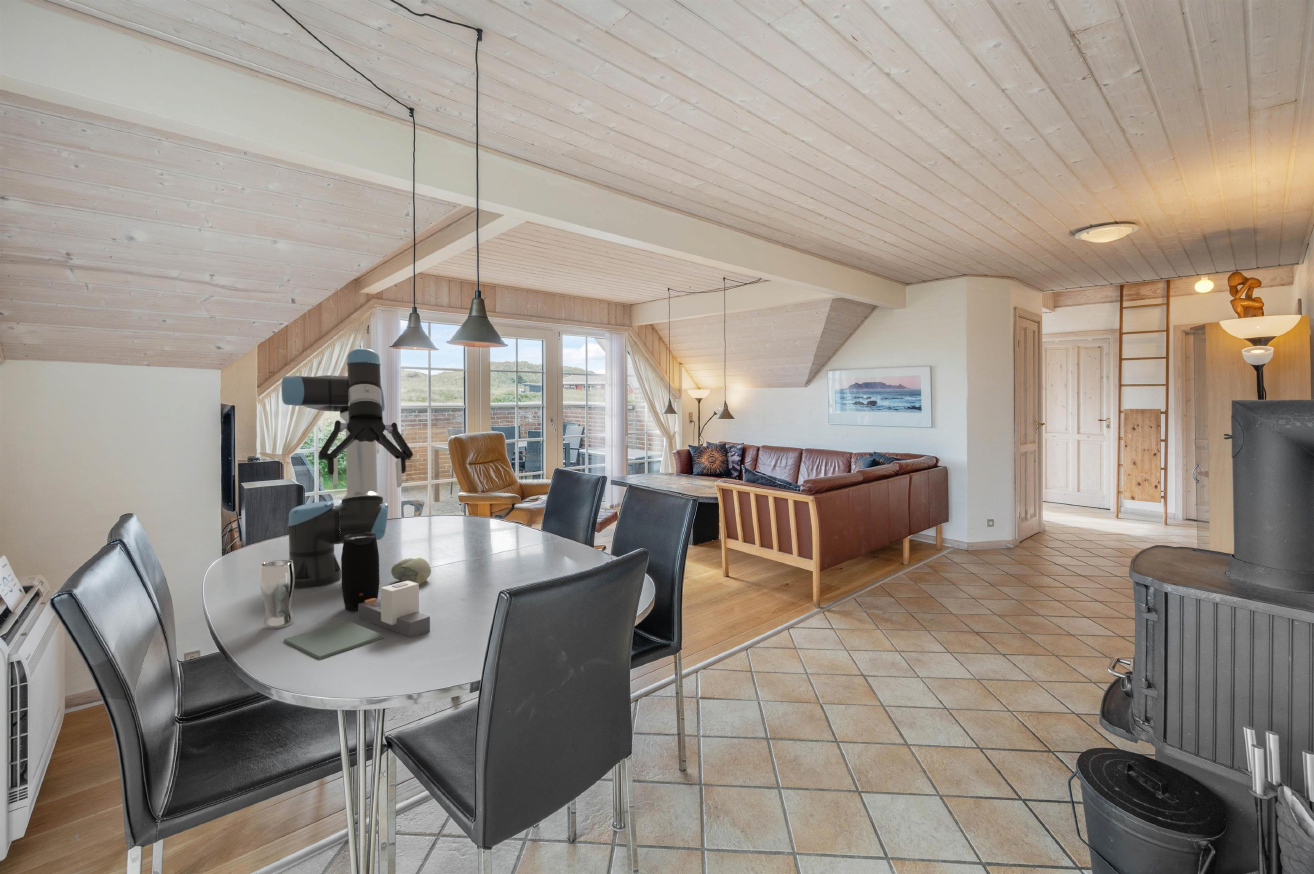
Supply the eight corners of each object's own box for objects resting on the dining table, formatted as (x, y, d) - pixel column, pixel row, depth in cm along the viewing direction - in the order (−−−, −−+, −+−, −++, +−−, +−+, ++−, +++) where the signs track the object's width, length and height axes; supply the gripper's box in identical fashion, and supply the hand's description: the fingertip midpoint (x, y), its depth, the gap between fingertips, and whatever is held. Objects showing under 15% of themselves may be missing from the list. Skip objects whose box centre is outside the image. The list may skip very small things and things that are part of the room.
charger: (381, 620, 137) (380, 586, 137) (408, 612, 143) (407, 579, 143) (392, 625, 135) (391, 590, 134) (419, 616, 140) (418, 582, 140)
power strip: (358, 617, 145) (358, 601, 144) (377, 611, 149) (377, 596, 149) (410, 637, 132) (410, 620, 132) (430, 630, 136) (429, 613, 136)
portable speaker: (372, 612, 149) (371, 538, 148) (335, 612, 148) (333, 538, 147) (385, 601, 157) (384, 531, 156) (350, 601, 156) (348, 531, 155)
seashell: (385, 558, 174) (416, 547, 181) (387, 582, 175) (419, 571, 183) (406, 569, 166) (438, 558, 173) (409, 595, 167) (440, 583, 175)
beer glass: (269, 632, 135) (268, 568, 134) (255, 625, 138) (253, 563, 138) (301, 622, 141) (300, 561, 140) (286, 617, 144) (285, 557, 144)
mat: (283, 641, 130) (283, 638, 130) (346, 622, 141) (346, 620, 141) (319, 659, 121) (319, 656, 121) (383, 637, 132) (383, 635, 132)
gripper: (308, 395, 135) (307, 480, 127) (421, 402, 149) (427, 479, 141) (306, 410, 140) (305, 493, 133) (415, 415, 154) (421, 490, 146)
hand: (368, 486), depth 137 cm, fingers open, 13 cm apart
